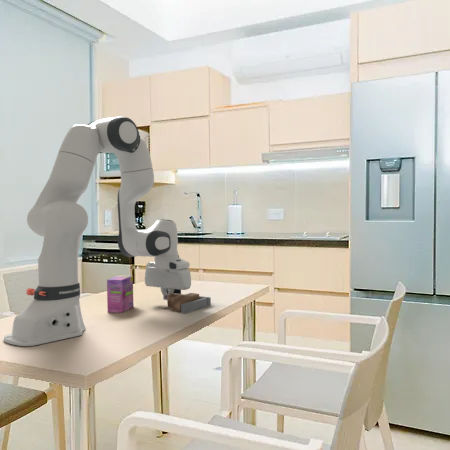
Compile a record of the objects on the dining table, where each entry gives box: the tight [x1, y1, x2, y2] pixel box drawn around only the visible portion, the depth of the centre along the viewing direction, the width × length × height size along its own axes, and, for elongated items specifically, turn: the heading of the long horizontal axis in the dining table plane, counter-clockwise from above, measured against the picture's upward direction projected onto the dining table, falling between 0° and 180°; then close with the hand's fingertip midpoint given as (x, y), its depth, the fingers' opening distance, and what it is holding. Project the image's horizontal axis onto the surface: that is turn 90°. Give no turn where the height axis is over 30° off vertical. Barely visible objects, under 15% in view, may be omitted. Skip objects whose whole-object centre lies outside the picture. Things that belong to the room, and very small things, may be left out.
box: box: [106, 274, 135, 314], centre depth 163 cm, size 10×6×12 cm, turn 168°
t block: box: [166, 292, 200, 313], centre depth 164 cm, size 9×11×4 cm
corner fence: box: [180, 295, 212, 314], centre depth 163 cm, size 15×10×3 cm, turn 145°
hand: (167, 299), depth 168 cm, fingers closed
